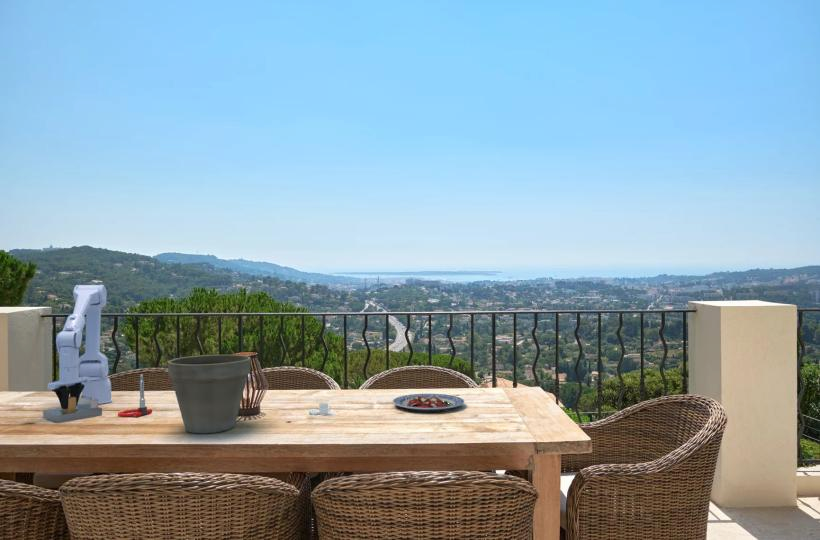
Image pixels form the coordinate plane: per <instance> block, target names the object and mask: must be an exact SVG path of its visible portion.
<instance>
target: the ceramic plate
mask: <svg viewBox="0 0 820 540" xmlns="http://www.w3.org/2000/svg"><path fill="white" fill-rule="evenodd" d="M443 401H444V402H443ZM392 403H393V405H395V406H397V407H401V408H406V409H407V410H410V411H411V410H412V411H416V412H441V411H440V410H442V411H446V409H447V410H449V409H452V408H457V407H460V406H462V405H463V404H464V403H465V400H464V399H463V398H461V397H459V396H455V395H451V394H450V395H449V394H443V393H413V394H406V395H401V396H398V397H395V398H393V399H392ZM448 403H449V404H448Z"/></svg>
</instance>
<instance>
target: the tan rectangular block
mask: <svg viewBox="0 0 820 540" xmlns="http://www.w3.org/2000/svg"><path fill="white" fill-rule="evenodd" d="M72 411H76V397H70V396H69V399H68V409H62V412H64V413H66V412H72Z"/></svg>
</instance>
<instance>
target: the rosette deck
mask: <svg viewBox="0 0 820 540" xmlns="http://www.w3.org/2000/svg"><path fill="white" fill-rule="evenodd" d="M100 416H103V407H99V404H98V399H95V397H88V396H86V395H82V394H80V397H79V400H78V404H77V406H76V411H72V412H66V413H64V412H62V408H61V407H56V408H49V409H45V410H43V411H42V417H43V419H46V420H48V421H50V422H51V421H52V422H54V423H57V424H61V423H66V422H72V421H78V420H83V419H87V418H88V419H89V418H93V417H94V418H95V417H100Z"/></svg>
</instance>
